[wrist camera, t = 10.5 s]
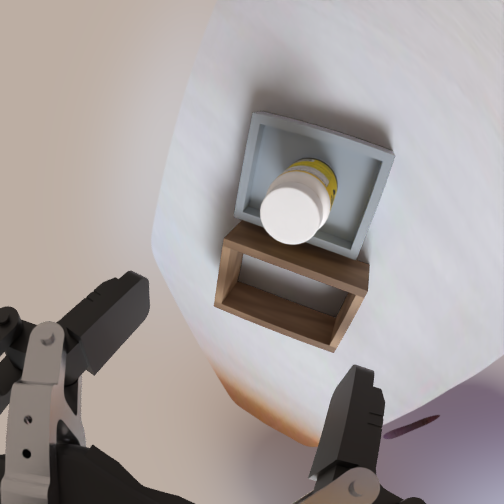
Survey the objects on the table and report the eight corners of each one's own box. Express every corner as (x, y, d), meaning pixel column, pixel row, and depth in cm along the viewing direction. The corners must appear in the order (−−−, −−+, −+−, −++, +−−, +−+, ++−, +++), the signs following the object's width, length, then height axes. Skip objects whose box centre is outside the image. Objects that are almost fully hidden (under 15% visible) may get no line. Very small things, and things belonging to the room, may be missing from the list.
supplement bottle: (320, 217, 28) (299, 263, 21) (276, 189, 28) (241, 224, 21) (349, 176, 25) (340, 209, 18) (302, 145, 25) (274, 166, 18)
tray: (261, 111, 25) (252, 112, 24) (393, 151, 23) (395, 156, 21) (242, 208, 31) (233, 216, 29) (357, 248, 28) (355, 260, 27)
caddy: (242, 219, 32) (223, 238, 28) (369, 264, 29) (367, 291, 25) (230, 283, 36) (213, 306, 33) (339, 324, 33) (333, 352, 30)
